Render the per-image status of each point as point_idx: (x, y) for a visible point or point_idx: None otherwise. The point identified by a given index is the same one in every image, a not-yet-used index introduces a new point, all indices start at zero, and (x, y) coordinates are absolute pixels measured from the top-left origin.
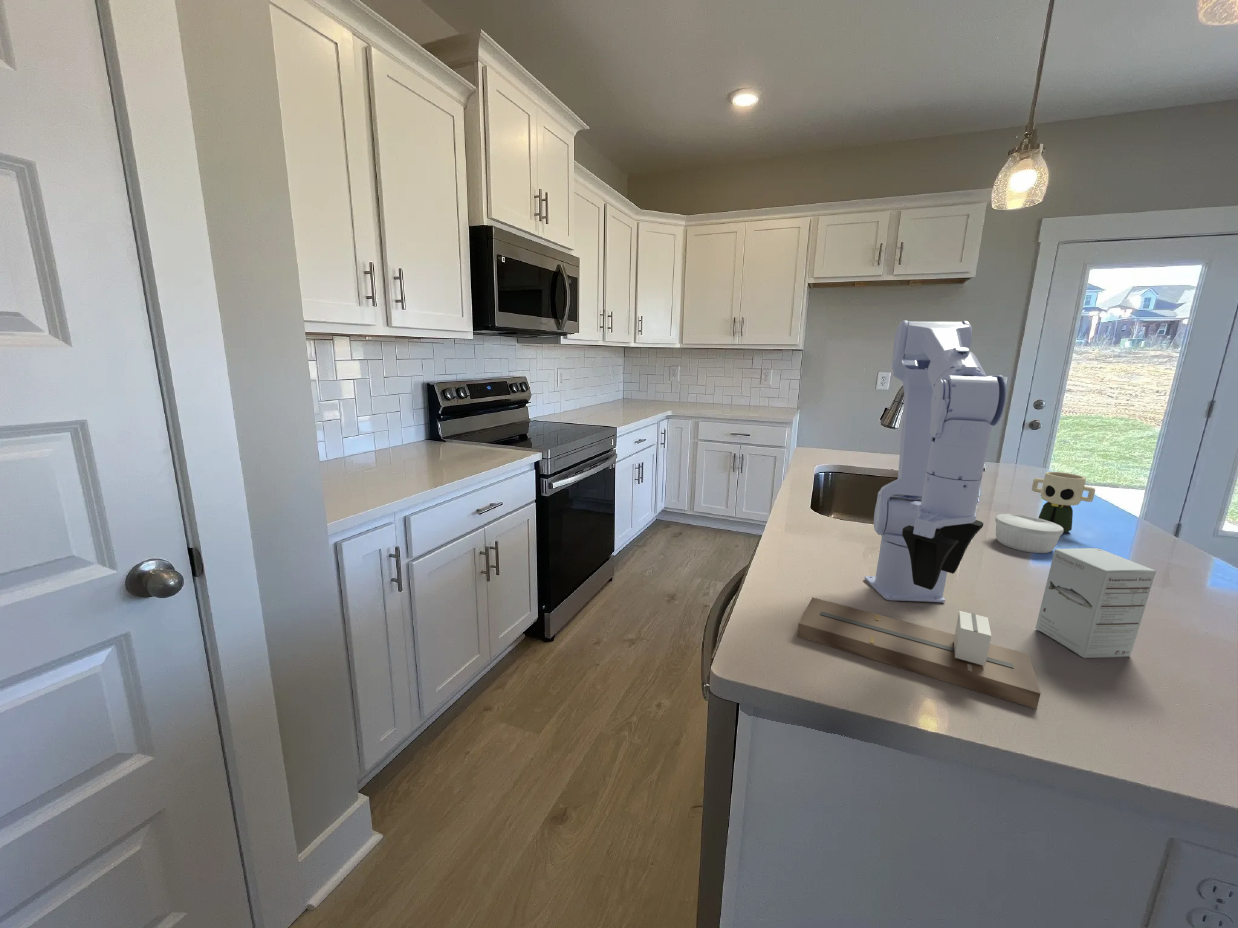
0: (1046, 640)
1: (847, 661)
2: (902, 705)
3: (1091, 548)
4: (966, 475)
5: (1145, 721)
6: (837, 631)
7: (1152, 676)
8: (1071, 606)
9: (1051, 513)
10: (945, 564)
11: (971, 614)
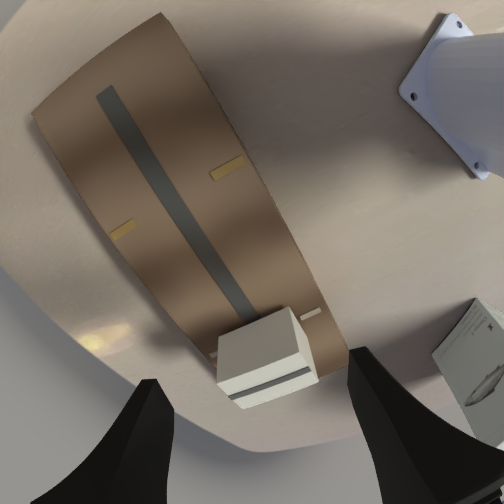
0: (452, 317)
1: (76, 214)
2: (82, 315)
3: None
4: None
5: (330, 417)
6: (79, 172)
7: (434, 386)
8: (477, 376)
9: None
10: (354, 386)
11: (304, 367)
